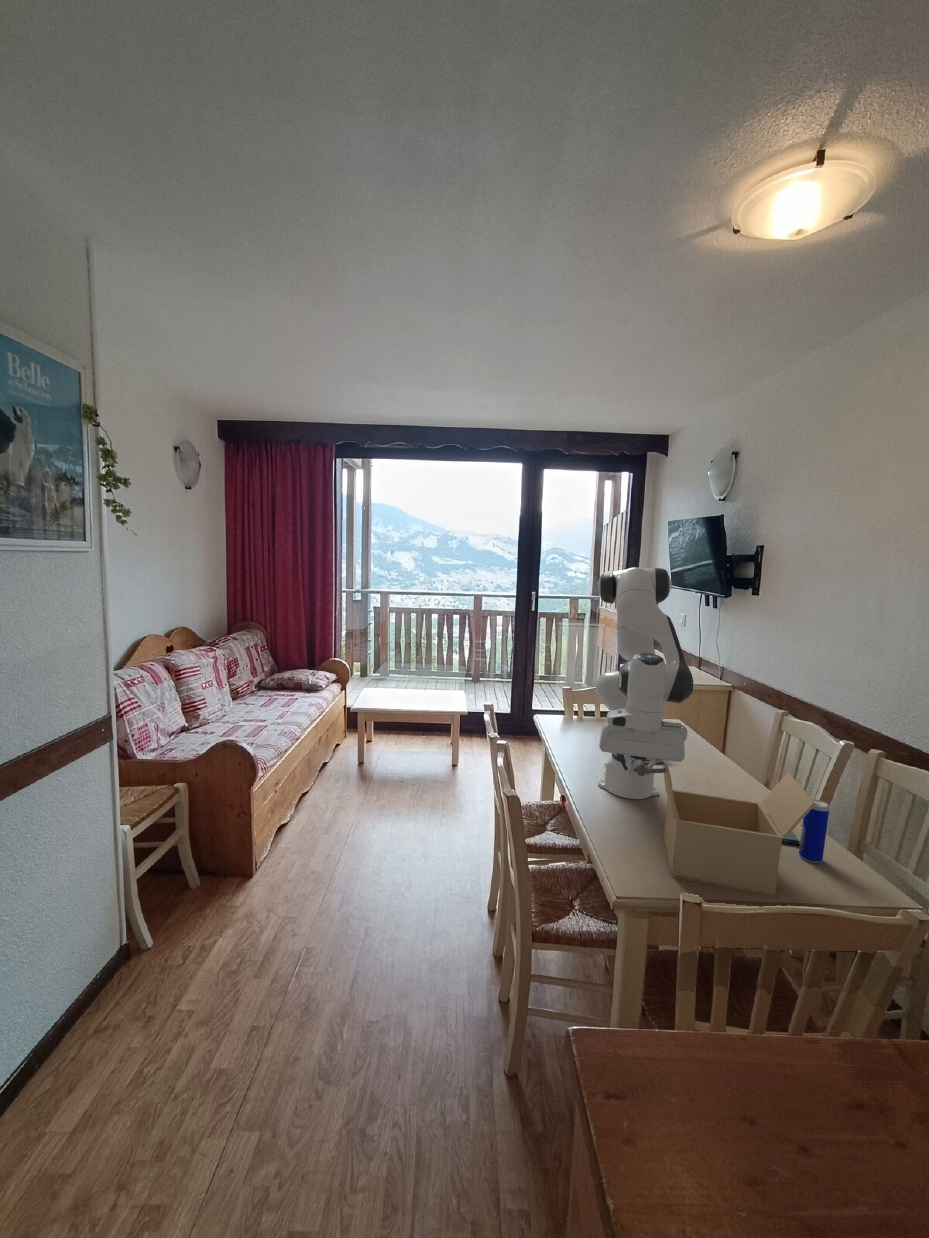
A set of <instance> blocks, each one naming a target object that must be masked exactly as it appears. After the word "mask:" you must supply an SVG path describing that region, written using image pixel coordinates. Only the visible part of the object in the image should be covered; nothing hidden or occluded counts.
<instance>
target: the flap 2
mask: <svg viewBox="0 0 929 1238" xmlns="http://www.w3.org/2000/svg"><path fill="white" fill-rule="evenodd" d="M812 799H813V798H812V797H811V796H810V795H809V794H808V793H807V792H806V790H805V789H804V788H803V786H801V785H800V783H799V782H798V781H797V780H796V779H795V778H794V777H793V776H792V774H791V773H790V772H787V773H786V774H785V775H784V776H783V777H782V778H781V779H780V780H779V782H778V783H777V784H776V785H775V786H774V787H773V789H772V790H771V791H770V792H769V793H768V794H767V796H766V797H765V798H764V799H763V800H762V801H761V802H760V804H761V805H762V807H763V809H764V810H765V812H766V813H767V814H769V815H770V817H771V818H772V820H773V822H774V823H775V825H776V826H777V828H778V829H779V831H780V832H781V834H782V835H783V837H785V838H786V837H787V836H788V835H789V833H790V832H791V831H793V830H794V829H795V828H796V827H797V826H798V825H799V823H801V821H803V818H804V817H805V816H806V815H807V814H808V813H809V811H810V810H811V809H812V808H813V807H814V806H815V805H816V803H815V802H814V801H813V800H812Z"/></svg>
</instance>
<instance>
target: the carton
mask: <svg viewBox="0 0 929 1238" xmlns="http://www.w3.org/2000/svg"><path fill="white" fill-rule="evenodd" d="M673 797H674V805H675V813H676V819H673V815H672V811H671V808H670V804H669V800H668V796H667V800H666V810H665V811H666V812H665V819H664V827H663V828H664V831H663V843H664V848H665V853H666V858H667V862H668V866H669V868H668V869H669V873H670V877H671V878H675V879H679V880H685V881H691V882H696V883H701V884H707V885H711V886H716V887H718V886H719V887H723V888H727V889H728V888H729V889H733V890H739V891H744V892H749V893H756V894H759V895H760V894H761V895H766V896H771V897H775V896H776V891H777V890H776V889H777V883H778V875H779V866H780V858H781V851H782V850H781V849H782V844H783V843H782V837H781V835H780V833H779V832H778V830H777V829H776V827H775V826H774V824H773V823H772V821H771V819H770V818H769V816H768V815H767V814H768V812H767V811H766V809H765V808H764V806H763V805H762V803H761V802H758V801H757V802H756V801H752V800H751V801H750V800H746V799H745V800H743V799H737V798H730V797H724V796H716V795H709V794H702V793H696V792H689V791H683V790H676V789H673Z"/></svg>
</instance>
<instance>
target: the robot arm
mask: <svg viewBox="0 0 929 1238" xmlns="http://www.w3.org/2000/svg"><path fill="white" fill-rule="evenodd" d="M671 590H672V579H671V577H670V575H669V571H667V570H666V568H665V569H664V568H661V567H654V568H652V567H651V568H650V567H637V566H636V567H635V566H634V567H629V568H626V569H619V570H615V571H614V570H609V571H605V572H603V573H602V574H601V575H600V576H599V580H598V582H597V593H598V595H599V597H600V600H602V601H603V602H604V603H607V604H611V605H612V604H616V605H615V608H616V609H615V610H616V615H617V619H616V639H617V652H618V654H619V655H620V657H621V658H622V659H624V660H626V661H625V663H623V664H622V665H621V666H620V667H619V668H618V670H615V671H614V670H613V671H608V672H603V673H601V674H600V675H599V677H598V678H597V680H596V683H595V693H596V696H597V697H598V699H599V700H600V702H601V703H603V705H605V706H606V707H607V708H608V710H609V711H608V712H607V714H606V721H605V723H603V724H602V725H603V726H602V729H601V732H600V738H599V744H598V746H599V750H600V751H601V752H603V753H610V754H611V757H610V759H608V760H605V761H604V768H605V770H604V772H603V774H602V775H601V777H600V779H599V780H598V784H597V786H598V787H600V788H603V789H604V790H606V791H608V792H610V793H611V794H612V795H615V796H618V797H621V798H624V799H625V798H626V799H629V800H644V799H648V798H649V797H652V796H653V797H654V796H659V795H660V794H659V793H660V791H659V789H658V788H657V786H656V785H655V784H654V781H655V773H647V774H646V773H645V775H644V776H639V775H638V774H637V770H636V761H637V760H642V761H643V762H646V761H650V763H649V765H648V766H645V765H644V767H645V769H655V768H654V767H655V766H656V765H655V764H656V761H658V760H661V761H662V760H666V761H671V762H678V763H679V762H680V763H681V762H683V760H684V759H685V757H686V756H685V754H686V753H685V752H686V751H685V749H686V748H685V747H686V746H685V741H686V740H687V739H688V729H687V727H686V726H684V725H683V724H682V723H680V722H670V721H663V719H664V718H663V717H664V707H669V706H672V705H674V704H681V703H682V702H684V701H686V700H687V699H689V697H691V695H692V694H693V691H694V678H693V674H692V672H691V670H690V667H689V665H688V664H687V662H686V658H685V656H684V652H683V650H682V646H681V644H680V640H679V636H678V634H677V632H676V631H677V630H676V628H675V626H674V623H673V621H672V619H671V617H670V616H669V615H667V614H665V613H664V612H663V611H662V610H661V608H660V607H659V604H661V603H662V602H664V601H665V600H666V599H667V598H668V597H669V595H670V593H671ZM654 641H656V642H657V643H659V645H660V647H661V650H662V652H663V657H664V658H663V657H662V656H660V655H658V654H656V652H655V650H656V649H655V646H654Z"/></svg>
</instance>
